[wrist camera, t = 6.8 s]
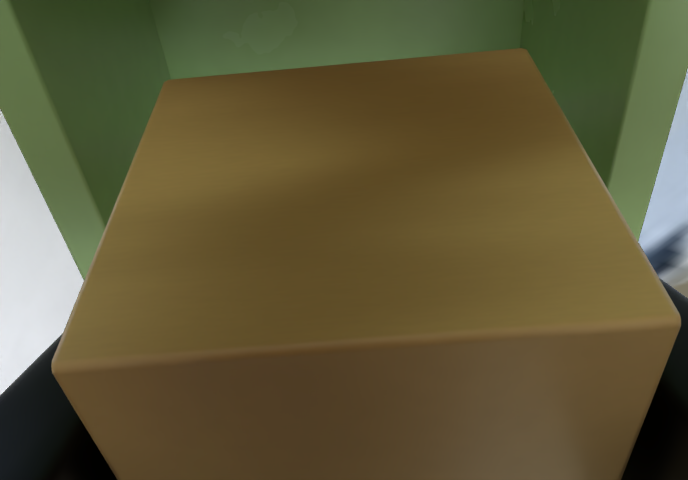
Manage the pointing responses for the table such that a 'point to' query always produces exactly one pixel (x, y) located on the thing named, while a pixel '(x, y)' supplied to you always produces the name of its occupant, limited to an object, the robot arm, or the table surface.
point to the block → (366, 284)
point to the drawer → (310, 51)
